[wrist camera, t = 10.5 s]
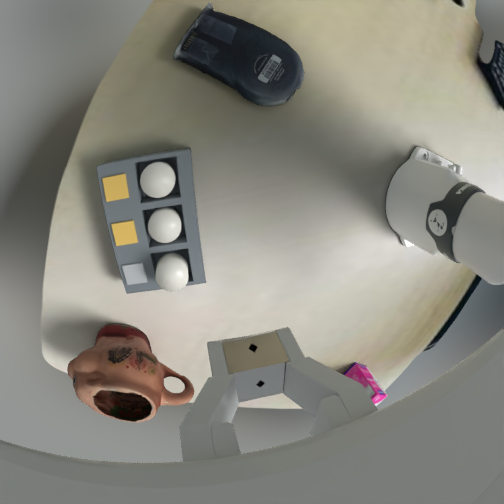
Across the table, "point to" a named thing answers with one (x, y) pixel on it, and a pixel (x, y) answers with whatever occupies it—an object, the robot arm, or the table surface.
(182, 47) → the electronic device
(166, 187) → the end button
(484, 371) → the robot arm
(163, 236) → the middle button
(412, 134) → the table surface
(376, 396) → the supplement box
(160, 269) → the button
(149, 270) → the button panel
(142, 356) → the character mug
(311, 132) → the table surface
